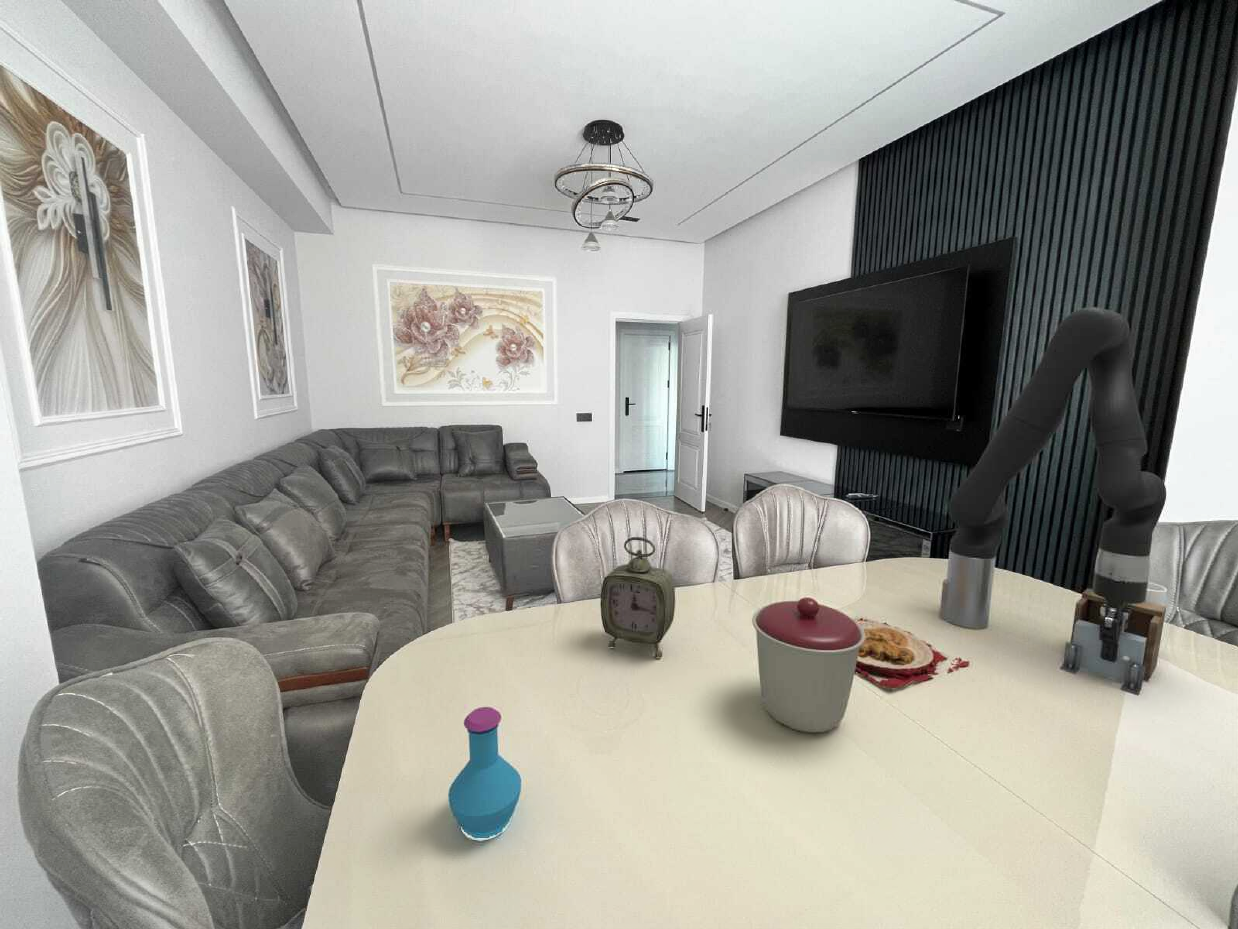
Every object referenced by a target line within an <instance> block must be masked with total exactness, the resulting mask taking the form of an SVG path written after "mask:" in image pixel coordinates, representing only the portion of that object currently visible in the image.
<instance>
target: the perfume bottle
mask: <svg viewBox="0 0 1238 929" xmlns="http://www.w3.org/2000/svg"><path fill="white" fill-rule="evenodd" d="M501 720H502V715H501V713H500V712H499V711H498V710H497V709H495V708H493V707H491V706H480V707H478V708H475V709H474V710H472V711H470V712H469V714H468V715H467V716H466V717H465V718H464V720H463V726H464V727H465V728H466V730H467V733H468V744H469V746H468V747H469V748H468V749H469V760H468V761H467V763H466V764H465V765H464V767H463V768H462V769H461V770H460V772H459V773H458V775H457V776H456V777H455V778H454V780H453V781H452V783H451V785H450V787H449V789H448V803H449V804H448V805H449V808H450V810H451V812H452V815H453V816H454V818H455V819H456V822H457V824H458V825H459V827H460V828H461V827H462V829H463V830H464V832H466V833H467V834H468V835H471V836H472V837H474V838H489V837H490V836H493V835H497V834H498V833H500V832H502V830H503V828H505V827H506V825H507V824H508V823H509V821H510V818H511V816H512V817H513V814H514V812H515V810H516V807H517V804H518V802H519V799H520V795H521V791H522V778H521V775H520V773H519V771H518V770H517V769H515V767H514V766H513V765H511V764H510V763H509V762H508V761H507V760H505V759H504V757H502V756H501V755H500V754H499V740H498V739H499V738H498V737H499V736H498V728H499V723H500V722H501Z"/></svg>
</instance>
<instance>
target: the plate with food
mask: <svg viewBox="0 0 1238 929" xmlns="http://www.w3.org/2000/svg"><path fill="white" fill-rule="evenodd" d="M852 619H853V620H854V621H856V620H857V621H856V622H857V623H858V624H859V625H860V626H861V627H862V628H863V630H864V632H865V635H866V638H865V642H864V643H863V645H862V646H861V647H860V648H859V653H858V659H857V663H856V668H855V673H856V672H857V673H856V675H857V674H858V675H859V676H858V675H857V676H858V677H860V676H862V677H861V678H865V677H866V678H865V679H868V680H869V681H871V682H872V683H875V684H876V685H877V686H880V687H884V688H885V689H886V688H891V689H892V690H894V689H897V688H900V687H901V686H907V685H910V684H911V683H912V682H914V683H916V684H917V683H919V682H923V681H926V680H929V681H931V680H934V677H931V676H928V675H932V676H937V675H939V672H936V671H937V670H938V669H937V667H938V664H939V663H940V662H944V661H947V660H948V657H946V656H944V655H942V653H940V652H939V651H935V650H934V649H933V646H934V645H932V644H930V643H927V642H926V641H924V640H923V639H919V638H917V637H916V636H915V634H912V632H911V631H908V630H907V631H906V630H904V629H901V628H899V627H896V626H891V625H890V624H888V623H887V622H883V623H880V622H878V621H872V620H871V621H870V620H868V619H864V618H863V617H860V618H858V619H856V620H855V619H854V618H852ZM863 619H864V620H863ZM955 661H956V663H950V665H951V666H952V667H948V669H946V671H947V674H950V673H954V671H958V670H959V667H965V666H968V665H969V664H970V660H966V661H965V660H964V661H963V660H962V658H961V657H955V658H954V659H953V660H951V662H955ZM869 674H870V675H874V674H875V676H878V675H879V676H878V677H884V678H886V679H884V678H882V679H881V680H879V681H878V680H876V679H875V678H874V677H872V676H870V675H869ZM887 678H888V679H887ZM890 678H891V679H890Z"/></svg>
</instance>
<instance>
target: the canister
mask: <svg viewBox="0 0 1238 929" xmlns="http://www.w3.org/2000/svg"><path fill="white" fill-rule="evenodd" d="M853 619H854V618H852V617H849V615H847V614H845V613H844V612H842V611H840V610H837V609H835V608H832V607H830V606H826V605H824V604H820V603H818V601H817V600H816V599H814V598H811V597H802V598H800V599H799V600H789V601H786V600H785V601H778V602H777V601H776V602H774V603H771V604H769V605H766V606H763V607H760V608H759V609H758V610H756V611H755V612H754V614H752V618H751V623H752V625H753V627H754V629H755V631H756V633H755V634H756V647H757V661H758V662H757V663H758V675H759V684H760V692H761V693H760V694H761V699H762V702H763V705H764V707H765V708H766V710H767V712H768V713H769V714H770V715H771V717H772V718H774V719H775V721H778V722H779V724H782V725H784V726H785V727H788V728H790V729H793V730H795V729H796V731H800V732H806V733H812V734H813V733H818V732H819V733H824V732H827V731H830V730H831V729H832V730H833V729H835V728H836V727H837V726H838V725H839V724H840V723H841V721H842V720H843V718H844V717H845V713H846V711H847V707H848V703H849V699H850V696H851V690H852V687H853V686H852V685H853V683H854V682H853V681H854V677H855V673H856V672H855V668H856V663H857V659H858V653H859V648H860V647H861V646H862V645H863V643H864V642H865V638H866V635H865V632H864V630H863V628H862V627H861V626H860V625H859V624H858V623H857V622H856V620H855V621H854V620H853Z"/></svg>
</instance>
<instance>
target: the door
mask: <svg viewBox="0 0 1238 929" xmlns="http://www.w3.org/2000/svg"><path fill="white" fill-rule="evenodd" d="M1099 635H1100V625H1097V624H1093V623H1090V622H1086V621H1082V620H1078V621H1077V622H1076V623H1075V627H1074V634H1073V641H1072V643H1073V644H1076V645H1079V646H1082V653H1081V660H1080V666H1079V669H1082V670H1085V671H1088V672H1091V673H1094V674H1096V675H1100V676H1103V677H1107V678H1108V679H1111V680H1115V681H1118V682H1121V681H1122V682H1121V683H1123V682H1124V676H1125V670H1126V664H1127V660H1129V661H1132V662H1135V663H1139V664H1143V658H1144V652H1145V646H1146V640H1147V638H1145V637H1141V636H1137V635H1134V634H1130V633H1126V632H1124V633H1122V634H1120V640H1119V641H1120V644H1119V645H1118V651H1117V658H1116V661H1115V662H1110V661H1107V660H1104V659H1102V658H1101V657H1100V656H1101V648H1102V641H1101V640H1099ZM1106 635H1107V636H1111V637H1113V635H1110V634H1106Z"/></svg>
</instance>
